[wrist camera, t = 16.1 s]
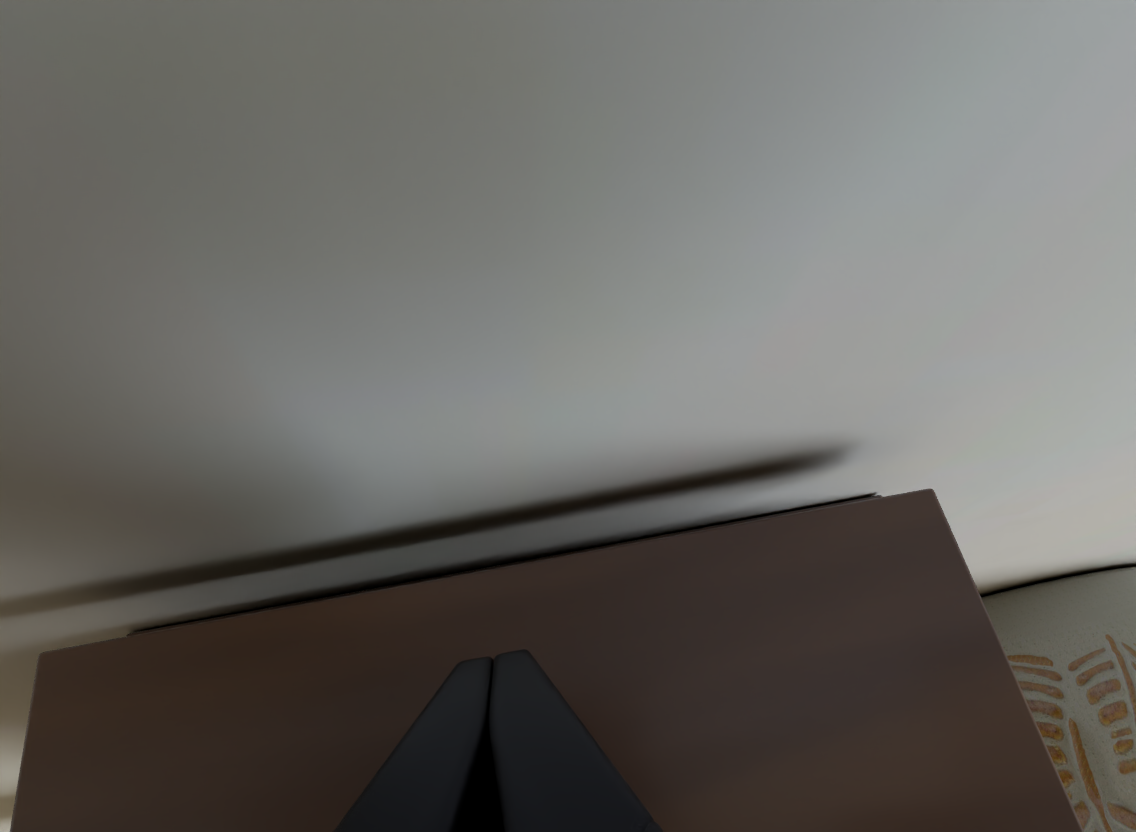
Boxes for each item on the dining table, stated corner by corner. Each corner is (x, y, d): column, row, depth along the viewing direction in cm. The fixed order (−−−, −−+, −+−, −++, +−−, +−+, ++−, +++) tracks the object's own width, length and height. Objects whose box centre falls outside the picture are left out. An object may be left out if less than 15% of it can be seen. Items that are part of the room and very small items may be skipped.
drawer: (-30, 637, 9) (-216, 1537, 6) (970, 454, 10) (1321, 1187, 6) (332, 717, 21) (338, 1023, 18) (766, 634, 22) (849, 917, 19)
